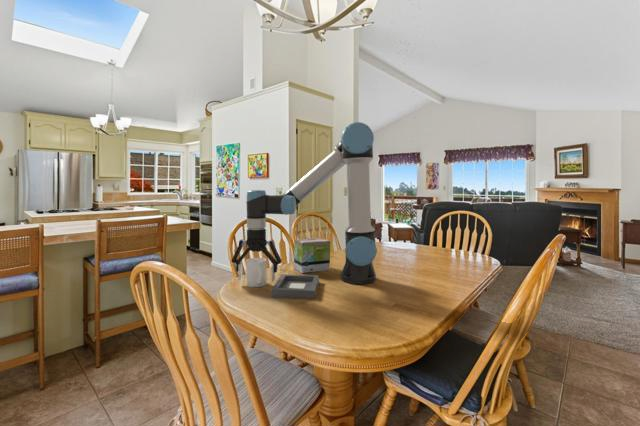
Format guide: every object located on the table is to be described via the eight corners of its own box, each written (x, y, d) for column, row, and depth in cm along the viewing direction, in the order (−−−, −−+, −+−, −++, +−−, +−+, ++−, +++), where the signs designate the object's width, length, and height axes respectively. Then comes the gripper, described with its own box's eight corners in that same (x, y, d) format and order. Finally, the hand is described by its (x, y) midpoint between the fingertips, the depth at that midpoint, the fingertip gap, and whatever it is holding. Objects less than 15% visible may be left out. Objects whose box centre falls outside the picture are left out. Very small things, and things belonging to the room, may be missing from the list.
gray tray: (318, 282, 139) (319, 275, 139) (314, 298, 119) (314, 290, 119) (281, 281, 140) (281, 274, 140) (271, 297, 120) (271, 289, 120)
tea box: (302, 274, 151) (302, 242, 150) (293, 268, 160) (293, 239, 159) (330, 270, 158) (330, 240, 157) (320, 265, 167) (321, 237, 166)
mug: (271, 288, 130) (271, 263, 129) (250, 291, 126) (250, 265, 125) (263, 280, 141) (263, 257, 140) (244, 282, 137) (243, 258, 136)
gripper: (288, 227, 134) (288, 278, 136) (229, 226, 136) (230, 276, 138) (285, 230, 127) (285, 283, 129) (222, 229, 129) (223, 281, 131)
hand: (256, 279), depth 133 cm, fingers open, 13 cm apart
